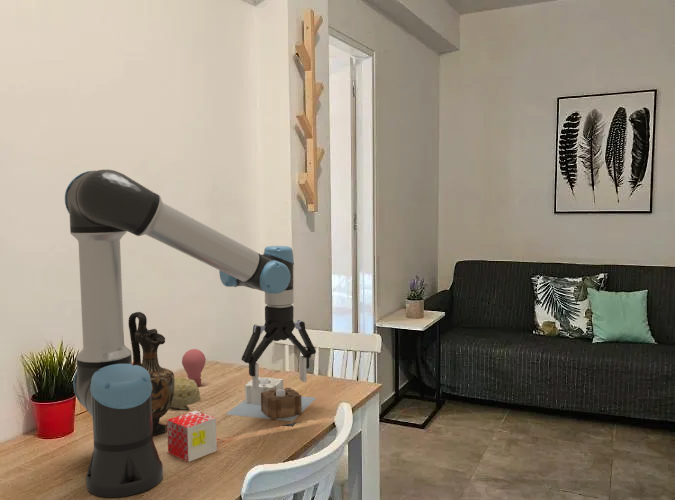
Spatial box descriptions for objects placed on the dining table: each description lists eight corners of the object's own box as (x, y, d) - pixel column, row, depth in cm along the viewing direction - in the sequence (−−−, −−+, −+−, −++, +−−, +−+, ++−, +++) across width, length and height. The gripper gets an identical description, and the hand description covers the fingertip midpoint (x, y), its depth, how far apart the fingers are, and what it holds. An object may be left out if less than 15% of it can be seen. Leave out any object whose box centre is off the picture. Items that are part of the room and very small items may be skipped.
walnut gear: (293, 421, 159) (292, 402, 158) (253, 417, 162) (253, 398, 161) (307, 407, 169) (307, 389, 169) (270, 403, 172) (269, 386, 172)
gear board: (292, 426, 159) (292, 398, 158) (225, 419, 164) (224, 392, 164) (316, 402, 177) (316, 377, 176) (255, 397, 183) (254, 372, 182)
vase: (149, 442, 150) (145, 320, 147) (115, 432, 156) (110, 315, 153) (185, 427, 159) (181, 311, 157) (152, 418, 166) (148, 307, 163)
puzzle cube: (188, 462, 139) (187, 427, 138) (168, 452, 144) (166, 419, 143) (217, 450, 145) (216, 417, 144) (196, 442, 150) (195, 410, 149)
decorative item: (201, 416, 177) (206, 382, 183) (192, 405, 169) (197, 370, 174) (169, 416, 178) (175, 383, 183) (158, 405, 170) (164, 371, 175)
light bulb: (180, 385, 194) (179, 348, 193) (203, 382, 197) (202, 345, 196) (185, 392, 188) (184, 353, 186) (208, 389, 190) (207, 350, 189)
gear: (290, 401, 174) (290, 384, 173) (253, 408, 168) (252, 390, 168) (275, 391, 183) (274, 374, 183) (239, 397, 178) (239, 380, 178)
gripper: (315, 299, 172) (315, 374, 174) (228, 306, 160) (229, 387, 162) (328, 303, 165) (328, 381, 167) (238, 311, 154) (239, 395, 155)
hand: (279, 384), depth 165 cm, fingers open, 13 cm apart
